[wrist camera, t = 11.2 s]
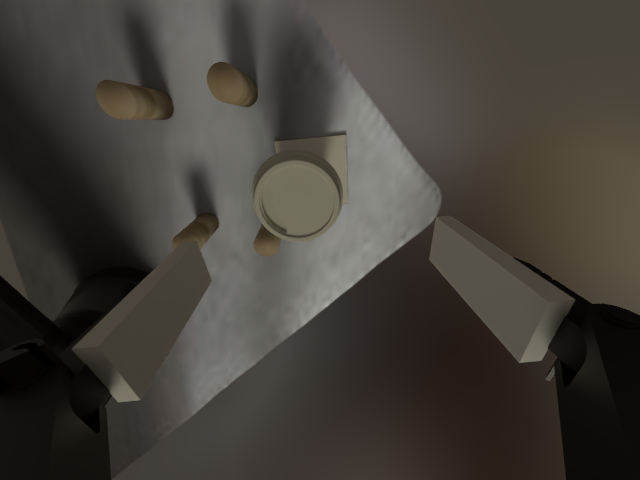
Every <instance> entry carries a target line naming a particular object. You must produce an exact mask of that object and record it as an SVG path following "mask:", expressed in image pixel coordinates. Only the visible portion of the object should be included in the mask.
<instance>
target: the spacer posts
mask: <svg viewBox="0 0 640 480" xmlns="http://www.w3.org/2000/svg"><path fill="white" fill-rule="evenodd" d="M207 83H208V87H209V89H210V91H211V93H212V94H213V95H214V97H216V98H217V99H218V100H220V101H222V102H225V103H229V104H234V105H239V106H243V107H249V106H252V105H253V104H254V103H255V102H256V100H257V97H258V91H257V87H256V85H255V83H254V82H253V81H252V80H251V79H250V78H248V77H247V76H246V75H244V74H243V73H241V72H240V71H239V70H237V69H236V68H234V67H233V66H232V65H230V64H228V63H225V62H218V63H215V64H213V65H212V66H211V67H210V69H209V71H208V74H207ZM96 98H97V101H98V103H99V105H100V106H101V108H102V109H103V110H104V111H105V112H106V113H107V114H108V115H110V116H111V117H113V118H116V119H141V120H166V119H169V118H170V117H171V116H172V114H173V110H174V108H173V103H172V101H171V99H170V98H169V97H168V95H167V94H165V93H164V92H162V91H160V90H156V89H151V88H146V87H141V86H136V85H131V84H126V83H121V82H116V81H111V80H104V81H102V82H100V83H99V84H98V85H97V88H96ZM218 227H219V222H218V220H217V218H216V217H215V216H214V215H212V214H209V213H203V214H201V215H200V216H198V217H197V218H196V219H195V220H194V221H193V222H192V223H190V224H189V225H188V226H187V227H186V228H185V229H183V230H182V231H181V232H180V233H179V234H178V235H177V236H175V237H174V238H173V241H172V246H173V248H174V249H176V248H177V247H178V246H179V245H180V244H181V243H182V242H185V241H195V240H197V243H198V245H199V248H200V249H201V248H202V246H203V245H204V244H205V243H206V242H207V240H208V239H209V238H210V237H211V236H212V235H213V233H214V232H215V231H216V230H217V229H218ZM280 240H281V238H279V237H277V236H275V235H274V234H272V233H271V232H270V231H268V230H267V229H266V228H265V227H264V225H263V224H262V225H261V228H260V230H259V232H258V234H257V236H256V239H255V241H254V248H255V250H256V251H257V252H258V253H259V254H260V255H263V256H272V255H274V254H275V253H276V252H277V251H278V249H279V244H280Z"/></svg>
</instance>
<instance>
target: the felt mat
mask: <svg viewBox="0 0 640 480" xmlns="http://www.w3.org/2000/svg"><path fill="white" fill-rule="evenodd" d="M274 144H275V151H276V154H278V153H281V152H284V151H288V150H304V151H309V152H312V153H314V154H317V155H319V156H320V157H322V158H324V159H325V160H326V161H327V162H328V163H330V165H331V166H332V167H333V168H334V169H335V171H336V172H337V174H338V176H339V178H340V181H341V184H342V188H343V202H342V204H348V190H347V155H346V135H337V136H327V137H316V138H306V139H295V140H285V141H274Z"/></svg>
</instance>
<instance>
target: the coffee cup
mask: <svg viewBox="0 0 640 480" xmlns="http://www.w3.org/2000/svg"><path fill="white" fill-rule="evenodd" d="M252 202H253V206H254V209H255V212H256V214H257V216H258V218H259V220H260V221H261V223H262V224H263V225H264V227H265V228H266V229H267V230H268V231H270V232H271V233H272V234H274V235H275V236H277V237H279V238H281V239H284V240H288V241H293V242H303V241H309V240H312V239H315V238H317V237H319V236H321V235H322V234H324V233H325V232H326V231H327V230H328V229H329V228H330V227H331V226H332V225H333V224H334V222H335V221H336V220H337V218H338V216H339V214H340V211H341V208H342V202H343V188H342V184H341V181H340V178H339V176H338V174H337V172H336V171H335V169H334V168H333V167H332V166H331V165H330V163H328V162H327V161H326V160H325V159H324V158H322V157H320V156H319V155H317V154H314V153H312V152H309V151H304V150H288V151H284V152H281V153H278V154H276V155H274V156H272V157H271V158H269V159H268V160H267V161H266V162H265V163H264V164H263V165H262V166H261V167H260V169H259V170H258V172H257V174H256V176H255V179H254V182H253V187H252Z"/></svg>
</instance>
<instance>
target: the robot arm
mask: <svg viewBox="0 0 640 480" xmlns="http://www.w3.org/2000/svg"><path fill="white" fill-rule="evenodd" d="M429 260H430V261H431V262H432V263H433V265H434V266H435V267H436V268H437V269H438V270H439V271H440V273H441V274H442V275H443V276H444V277H445V278H446V279H447V281H448V282H449V283H450V284H451V285H452V286H453V287H454V289H455V290H456V291H457V292H458V293H459V294H460V295H461V297H462V298H463V299H464V300H465V301H466V302H467V303H468V305H469V306H470V307H471V308H472V309H473V310H474V311H475V313H476V314H477V315H478V316H479V317H480V318H481V320H482V321H483V322H484V323H485V324H486V325H487V326H488V327H489V329H490V330H491V331H492V332H493V333H494V334H495V336H496V337H497V338H498V339H499V340H500V341H501V342H502V343H503V345H504V346H505V347H506V348H507V349H508V350H509V351H510V353H511V354H512V355H513V356H514V357H515V358H516V360H517V361H518V362H519V363H522V362H532V361H541V360H542V359H543V357H544V355H545V353H546V351H547V350H548V349H550V350H551V351H552V352H553V353H554V354H555V355H556V356H557V359H556V360H555V362H554V364H553V365H552V367H551V369H550V370H549V372H548V374H547V376H546V380H549V381H550V380H551V379H552V377H553V376H555V379H556V389H557V398H558V407H559V417H560V426H561V435H562V445H563V455H564V464H565V474H566V480H640V315H638V314H635V313H633V312H631V311H629V310H626V309H623V308H620V307H617V306H613V305H608V304H592V303H590V302H589V301H587V300H585V299H584V298H582V297H581V296H579V295H577V294H576V293H575V292H573V291H571V290H570V289H568V288H567V287H565V286H564V285H562V284H560V283H559V282H557V281H556V280H552V278H551V277H550V276H548V275H547V274H545V273H542V271H540V270H539V269H537V268H536V267H534V266H532V265H531V264H529V263H527V262H525V261H522V260H519V259H517V258H515V257H514V258H512V257H511V256H509V255H508V254H506V253H505V252H503V251H502V250H500V249H499V248H497V247H496V246H494V245H493V244H491V243H490V242H488V241H487V240H485V239H484V238H482V237H481V236H479V235H478V234H476V233H475V232H473V231H472V230H470V229H469V228H467V227H466V226H464V225H463V224H461V223H460V222H458V221H457V220H455V219H454V218H452V217H451V216H444V217H436V222H435V228H434V234H433V240H432V246H431V253H430V259H429ZM211 281H212V280H211V277H210V275H209V272H208V269H207V267H206V264H205V261H204V259H203V256H202V253H201V251H200V248H199V245H198V243H197V240H195V241H185V242H182V243H181V244H180V245H179V246H178V247H177V248H176V249H174V250H173V251H172V252H171V253H170V254H169V255H168V256H167V257H166V258H165V259H164V260H163V261H162V262H161V263H160V264H159V265H158V266H157V267H156V268H155V269H154V270H153V271H152V272H151V273H150V274H149V275H148V274H146V273H143V272H140V271H137V270H133V269H127V268H108V269H104V270H101V271H98V272H96V273H94V274H93V275H92V276H90V277H89V278H87V279H86V280H85V281H83V282H82V283H81V284H80V285H79V286H78V287H77V288H76V289H75V291H74V293H73V295H72V296H71V297H70V299H69V300H68V302H67V303H66V304H65V306H64V307H63V309H62V310H61V312H60V313H59V314H58V316H57V317H56V319H55V320H54V321H51V320H50V319H48V318H47V317H46V316H45V315H44V314H43V313H41V312H40V311H39V310H38V309H37V308H36V307H35V306H33V305H32V304H31V303H30V302H29V301H28V300H27V299H26V298H25V297H23V296H22V295H21V294H20V293H19V292H18V291H17V290H16V289H15V288H13V287H12V286H11V285H10V284H9V283H8V282H7V281H6V280H5V279H4V278H2V277H1V276H0V480H111V471H110V456H109V441H108V426H107V411H106V408H105V405H106V404H107V402H108V401H109V400H110V398H111V397H112V396H113V397H114V398H115V399H116V400H117V401H118V402H126V401H136V400H141V398H142V397H143V395H144V393H145V392H146V390H147V388H148V387H149V385H150V383H151V382H152V380H153V378H154V377H155V375H156V373H157V372H158V370H159V368H160V367H161V365H162V363H163V362H164V360H165V358H166V357H167V355H168V353H169V352H170V350H171V348H172V347H173V345H174V343H175V342H176V340H177V338H178V337H179V335H180V333H181V331H182V330H183V328H184V326H185V325H186V323H187V321H188V320H189V318H190V316H191V315H192V313H193V311H194V310H195V308H196V306H197V305H198V303H199V301H200V300H201V298H202V296H203V295H204V293H205V291H206V290H207V288H208V286H209V285H210V283H211Z"/></svg>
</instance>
